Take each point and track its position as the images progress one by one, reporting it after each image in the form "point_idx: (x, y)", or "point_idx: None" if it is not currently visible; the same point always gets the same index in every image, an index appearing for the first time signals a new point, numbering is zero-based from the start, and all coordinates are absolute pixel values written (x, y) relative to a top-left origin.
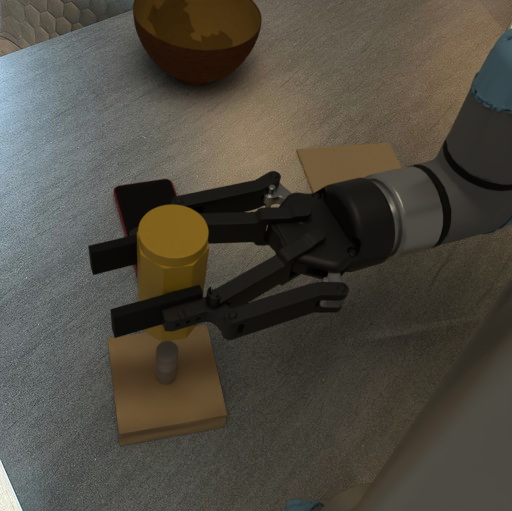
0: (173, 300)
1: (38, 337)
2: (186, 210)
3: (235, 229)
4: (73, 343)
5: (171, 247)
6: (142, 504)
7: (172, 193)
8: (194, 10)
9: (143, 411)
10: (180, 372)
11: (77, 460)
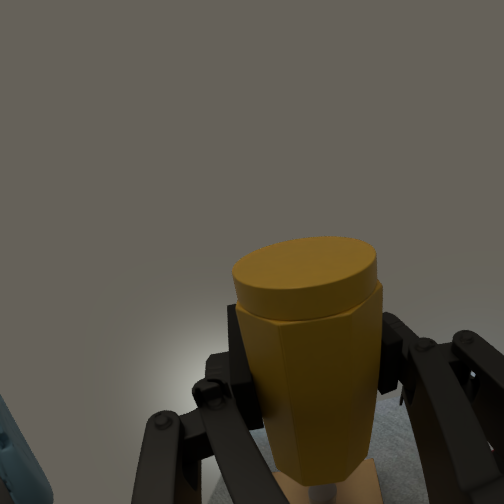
0: (229, 349)
1: (383, 420)
2: (361, 259)
3: (439, 455)
4: (379, 444)
5: (259, 258)
6: (213, 494)
7: None
8: None
9: (283, 491)
10: None
11: (265, 457)
